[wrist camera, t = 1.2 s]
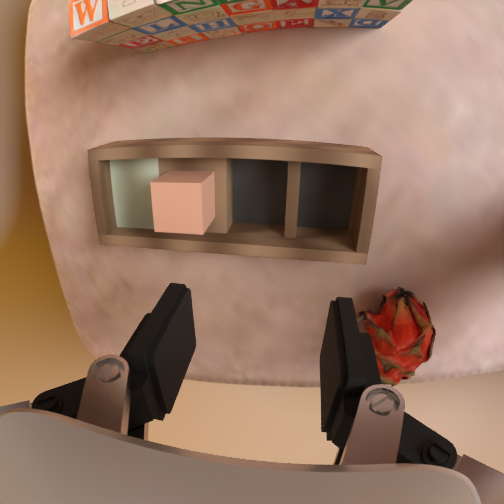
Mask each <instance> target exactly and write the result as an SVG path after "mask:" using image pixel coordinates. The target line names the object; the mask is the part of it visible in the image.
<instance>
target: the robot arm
mask: <svg viewBox="0 0 504 504" xmlns="http://www.w3.org/2000/svg"><path fill="white" fill-rule="evenodd" d="M195 347H196V337H195V328H194V319H193V309H192V299H191V290H190V289H189V288H186V285H185V284H177V283H170V284H169V286H168V287H167V289H166V290H165V292H164V293H163V295H162V297H161V298H160V300H159V301H158V303H157V304H156V306H155V308H154V309H153V311H152V312H151V313H147V314H146V315H145V316H144V318H143V319H142V321H141V322H140V324H139V325H138V327H137V329H136V330H135V332H134V333H133V335H132V336H131V338H130V340H129V341H128V343H127V344H126V346H125V348H124V349H123V351H122V353H121V354H120V356H116V355H107V356H103V357H100V358H98V359H97V360H95V361H94V362H93V363H92V364H91V366H90V368H89V370H88V374H87V377H85V378H83V379H80V380H77V381H74V382H72V383H68V384H65V385H63V386H60V387H57V388H54V389H51V390H48V391H45V392H43V393H41V394H39V395H38V396H37V397H36V398H35V400H34V401H33V403H30V401H29V400H28V401H24V402H19V403H15V404H11V405H6V406H1V407H0V504H504V474H503V473H501V472H499V471H497V470H495V469H493V468H491V467H489V466H487V465H485V464H483V463H481V462H479V461H477V460H475V459H473V458H471V457H469V456H467V455H463V456H462V457H461V456H459V455H457V452H456V449H455V447H454V446H453V444H452V443H451V442H450V441H448V440H447V439H445V438H444V437H442V436H441V435H439V434H438V433H436V432H435V431H433V430H432V429H430V428H428V427H427V426H425V425H424V424H422V423H421V422H419V421H418V420H416V419H415V418H413V417H412V416H410V415H409V414H407V413H405V412H404V409H405V401H404V398H403V396H402V395H401V393H400V392H399V391H398V390H396V389H395V388H393V387H391V386H388V385H382V383H381V378H380V373H379V368H378V364H377V359H376V355H375V351H374V346H373V342H372V338H371V335H370V334H369V333H359V328H358V323H357V319H356V314H355V309H354V305H353V300H352V298H344V297H337V298H336V301H331V302H330V308H329V313H328V318H327V324H326V329H325V334H324V339H323V344H322V349H321V354H320V383H321V430H322V432H327V441H328V440H329V441H332V443H334V444H335V445H336V446H337V447H338V451H337V454H336V457H335V460H334V463H333V465H312V464H291V463H276V462H266V461H256V460H247V459H239V458H232V457H225V456H218V455H212V454H206V453H200V452H195V451H190V450H185V449H180V448H176V447H171V446H166V445H162V444H158V443H154V442H150V441H148V422H150V421H153V419H157V420H162V421H163V419H164V417H165V414H166V413H167V414H170V412H171V410H172V408H173V405H174V403H175V400H176V397H177V395H178V392H179V390H180V387H181V384H182V382H183V379H184V377H185V374H186V371H187V369H188V366H189V364H190V361H191V359H192V356H193V353H194V351H195Z"/></svg>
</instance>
